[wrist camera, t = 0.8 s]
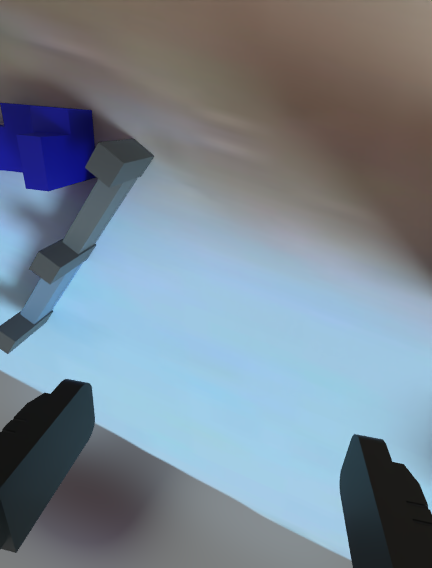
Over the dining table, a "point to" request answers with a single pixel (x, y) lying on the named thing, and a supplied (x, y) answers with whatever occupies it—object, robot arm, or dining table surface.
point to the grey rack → (78, 235)
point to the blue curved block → (46, 144)
